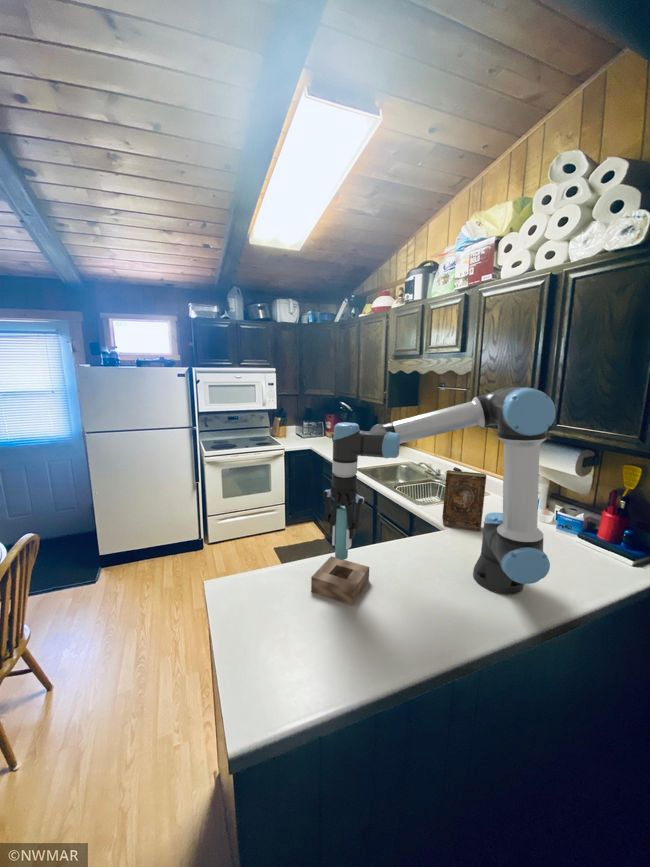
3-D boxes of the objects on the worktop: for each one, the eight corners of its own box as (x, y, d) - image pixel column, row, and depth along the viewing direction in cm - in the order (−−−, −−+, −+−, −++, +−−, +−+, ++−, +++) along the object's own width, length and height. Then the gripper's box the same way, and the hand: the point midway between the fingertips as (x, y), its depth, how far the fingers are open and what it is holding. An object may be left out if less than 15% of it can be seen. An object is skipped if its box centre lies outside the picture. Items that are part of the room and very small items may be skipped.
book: (479, 526, 157) (485, 473, 153) (481, 531, 152) (487, 477, 148) (442, 521, 162) (446, 469, 158) (442, 526, 157) (446, 473, 152)
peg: (349, 555, 110) (351, 507, 107) (344, 560, 106) (346, 511, 103) (338, 551, 111) (339, 505, 109) (332, 557, 108) (334, 509, 105)
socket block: (368, 580, 114) (369, 567, 113) (352, 605, 101) (353, 590, 100) (330, 569, 120) (331, 556, 119) (311, 591, 107) (311, 576, 107)
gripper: (375, 475, 104) (371, 547, 108) (324, 467, 111) (323, 534, 115) (366, 481, 97) (363, 558, 101) (313, 472, 105) (312, 544, 109)
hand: (341, 545), depth 108 cm, fingers closed on peg, 4 cm apart
